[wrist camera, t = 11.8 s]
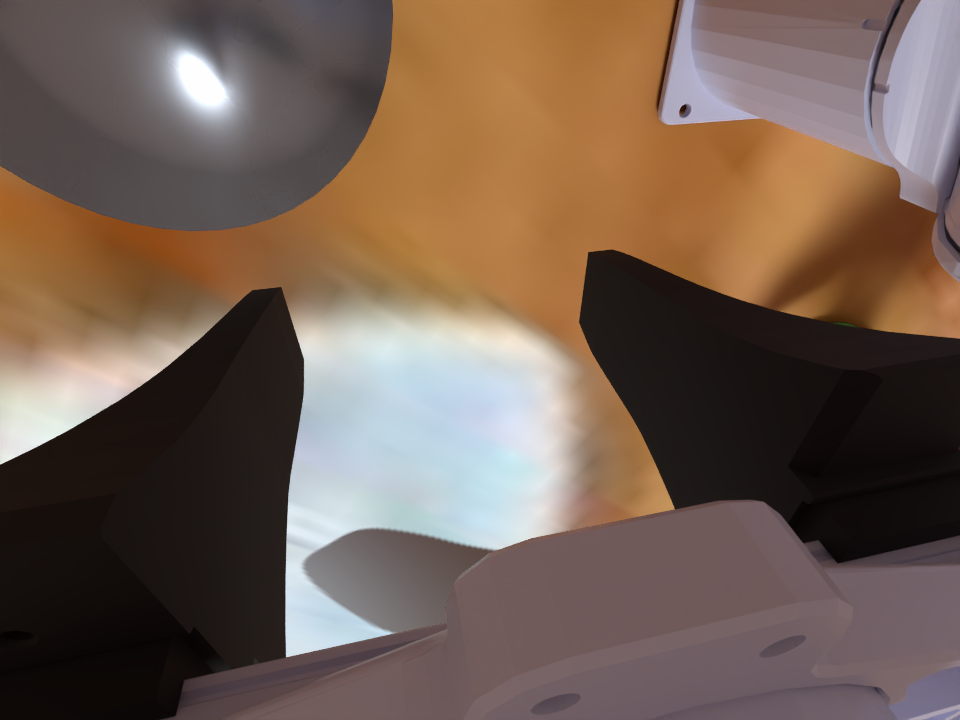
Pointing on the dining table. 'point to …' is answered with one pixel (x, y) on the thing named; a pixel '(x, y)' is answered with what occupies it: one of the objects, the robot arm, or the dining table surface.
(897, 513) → the robot arm
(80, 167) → the balance
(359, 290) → the dining table surface
